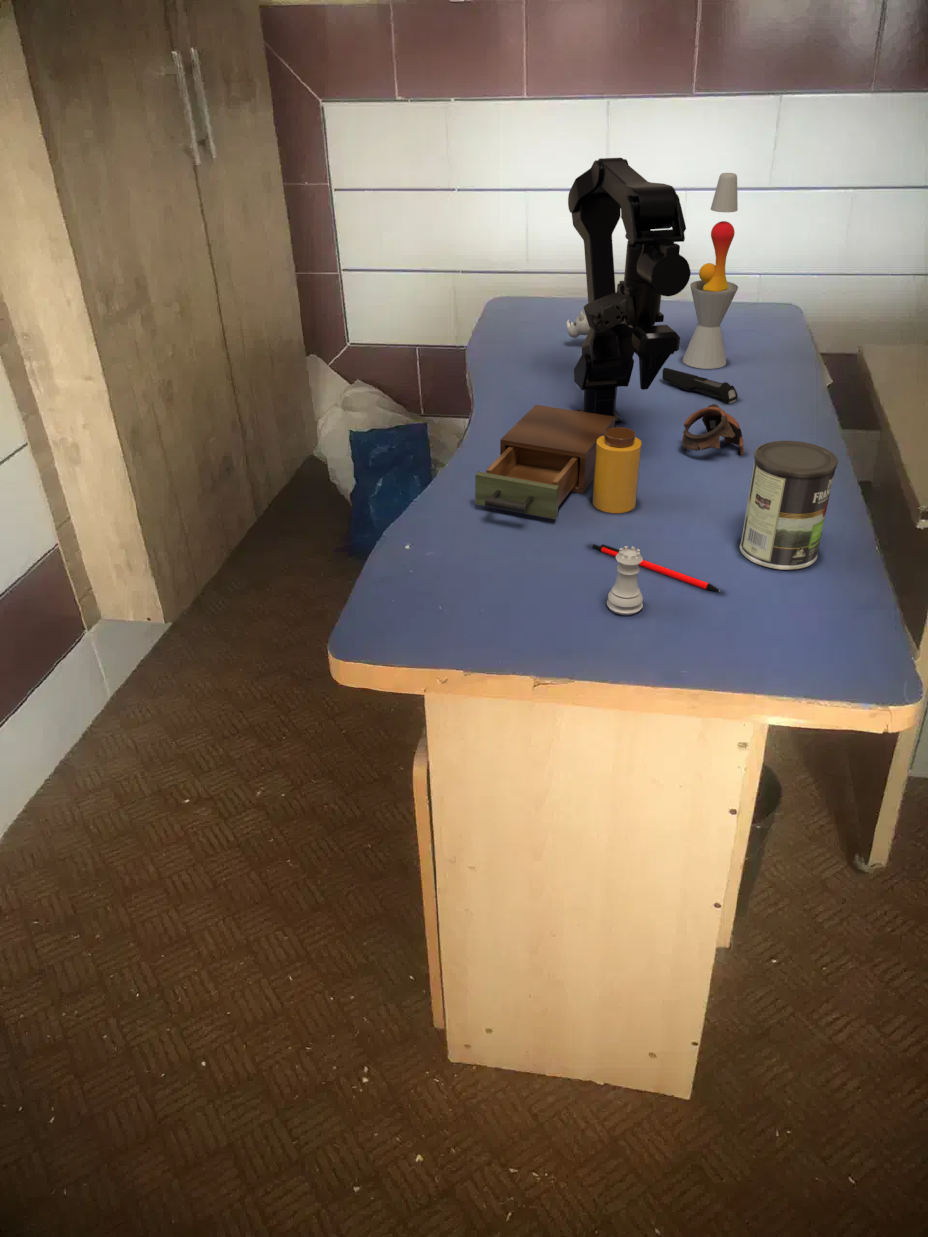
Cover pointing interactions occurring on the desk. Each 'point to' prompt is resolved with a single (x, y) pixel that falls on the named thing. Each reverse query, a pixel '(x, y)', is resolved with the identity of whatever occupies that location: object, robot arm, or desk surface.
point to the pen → (661, 569)
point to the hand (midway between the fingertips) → (634, 378)
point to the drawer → (527, 481)
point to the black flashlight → (700, 385)
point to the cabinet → (561, 436)
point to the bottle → (616, 470)
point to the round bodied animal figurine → (578, 326)
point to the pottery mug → (712, 430)
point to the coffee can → (787, 504)
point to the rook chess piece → (626, 583)
